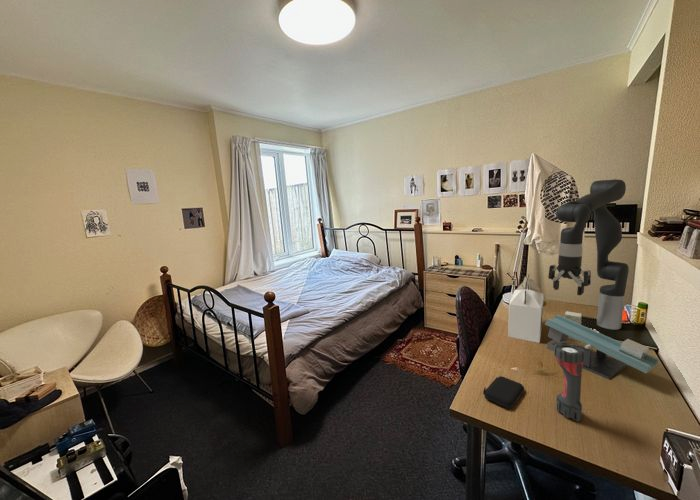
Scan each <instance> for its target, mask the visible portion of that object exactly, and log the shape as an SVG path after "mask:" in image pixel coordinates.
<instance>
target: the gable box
mask: <svg viewBox="0 0 700 500" xmlns="http://www.w3.org/2000/svg"><path fill="white" fill-rule="evenodd" d="M544 295H545V294H544V293H543V291H542V290H541V289H540V287H539V286H538V284H537V283H536V281H534V280H533V279H530V274H527V277H526V276H525V275H524V278H523V280H522V282H521V283H520V284H519V286H517V288H516V289H515V290H514V291H513V293H512V296H511V298H510V301H509V304H508V323H507V324H508V327H507V331H508V332H507V337H508V338H512V339H517V340H521V341H526V342H533V343H537V344H540V343H541V337H542V330H543V329H542V327H543V315H544V314H543V313H544Z"/></svg>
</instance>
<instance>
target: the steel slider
mask: <svg viewBox="0 0 700 500" xmlns="http://www.w3.org/2000/svg"><path fill="white" fill-rule="evenodd" d="M621 343H622V344H621V347H620V349H619V351H620V352H622V353H624V354H626V355H629V356H631V357H633V358H635V359H637V360H639V361H643V360H644V359H645V356H646V354H648V352H649V349H650V347H649V346H645V345H644V344H642V343H639V342H636V341H635V340H632V339H630V338H627V339H625V340H624V341H622V342H621Z"/></svg>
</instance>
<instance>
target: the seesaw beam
mask: <svg viewBox="0 0 700 500" xmlns="http://www.w3.org/2000/svg"><path fill="white" fill-rule="evenodd" d="M545 325H546V326H547V327H549V331H548V334H547V337H548V338H550V339H552V340H555V341H557V342H559V343H560V342H562V341H565V340H568V338H567V337H568V336H570V337H572V338H574V339H576V340H575V341H579V342H580V343H583V344H585V346H584V348H585V349H589V350H590V348H593V349H596V351H597V350H599V351H601V352H603V353H605V354H607V356H608V357H610V358H613V359H616V360H619V361H621V362H624V363H626V364H627V366H630V367H632V368H634V369H636V370H638V371H641V372H642V373H644V374H648V373H649V372H650V371H651V370H653V369H654V368H655V367H656V366H658V363H659V361H660V359H659V358H657V357H655V356H653V355H650V354H648V353H647V354H646V356H645V359H644V360H643V361H639V360H637V359H635V358H633V357H631V356H629V355H626V354H624V353H622V352H620V351H619V349H620V347H621V344H622V342H621V341H618V340H617V339H614V338H612V337H610V336H607V335H605V334H603V333H601V332H599V331H596V330H593V329H592V328H590V327H587V326H585V325H582V324H581V325H580V324H578V323H576V322H574V321H571V320H569V319H567V318H565V317H564V316H562V315H561V314H555V317H554V318H549V317H547V319H546V321H545Z"/></svg>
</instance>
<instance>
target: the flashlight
mask: <svg viewBox="0 0 700 500" xmlns="http://www.w3.org/2000/svg"><path fill="white" fill-rule="evenodd" d="M566 342H567V341H565V342H560V344H555V349H554V351H553V353H554V354H553V356H555V360H556V363H558V365H559V366H560V368H561V369H562V370H563V371H562V372H563V384H564V386H563V387H564V389H563V391H562V393H559V394H557V395H556V401H555V402H556V411H557V412H558V413H561V414H562V416H563V417H564V418H566V419H572V420H573V421H576V422H578V423H579V422H581V421H582V412H583V411H582V410H583V404H582V402H581V393H582V391H581V390H582V376H583V370H584V369H583V362H584V354H585V353H584V350H583V349H580V348H579V347H580V345H578V344H577V343H576V344H575V343H573V344H571V343H570V344H566Z"/></svg>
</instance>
